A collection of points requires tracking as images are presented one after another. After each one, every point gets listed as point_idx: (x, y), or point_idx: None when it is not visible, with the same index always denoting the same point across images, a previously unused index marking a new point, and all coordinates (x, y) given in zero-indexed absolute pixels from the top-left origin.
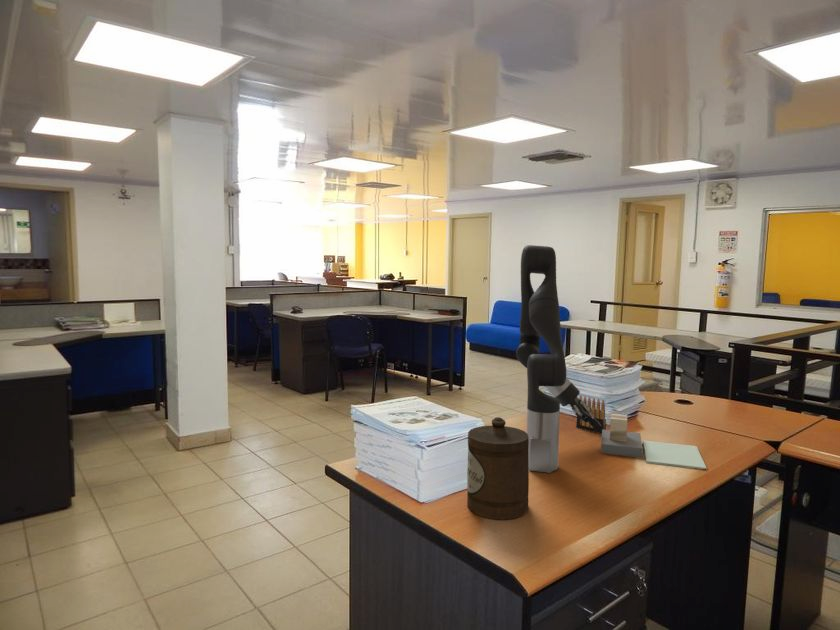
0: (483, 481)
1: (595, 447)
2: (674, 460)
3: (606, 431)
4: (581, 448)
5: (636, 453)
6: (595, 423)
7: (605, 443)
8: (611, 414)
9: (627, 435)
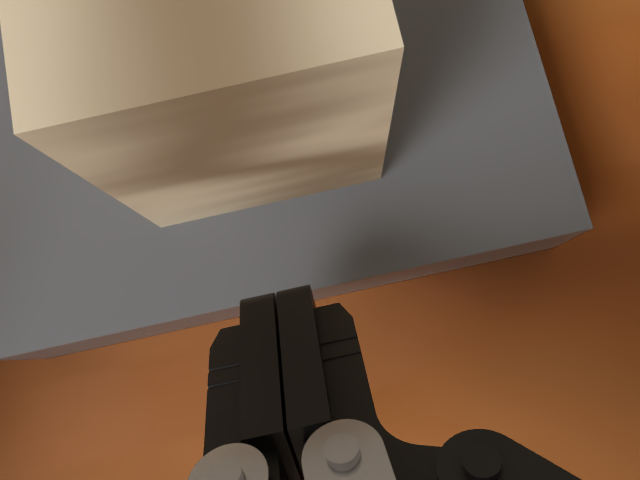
0: None
1: (405, 340)
2: None
3: (59, 292)
4: None
5: None
6: (363, 370)
7: (547, 189)
8: (63, 107)
9: None
